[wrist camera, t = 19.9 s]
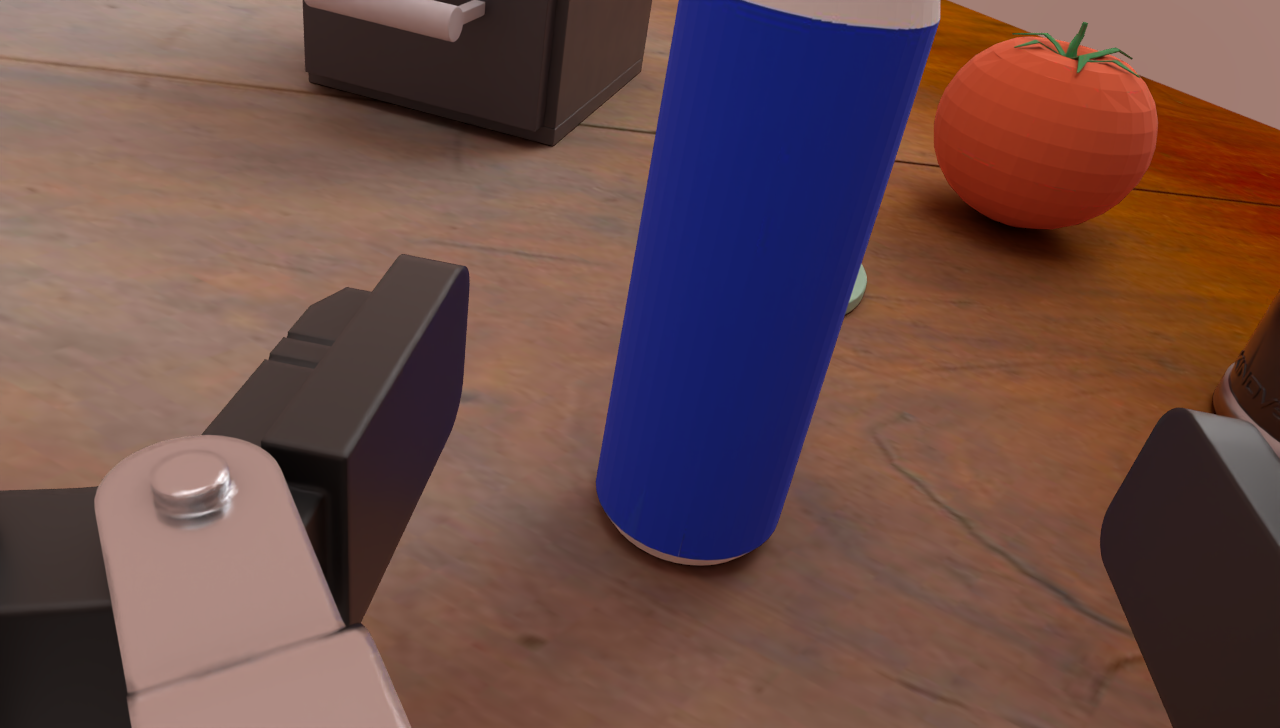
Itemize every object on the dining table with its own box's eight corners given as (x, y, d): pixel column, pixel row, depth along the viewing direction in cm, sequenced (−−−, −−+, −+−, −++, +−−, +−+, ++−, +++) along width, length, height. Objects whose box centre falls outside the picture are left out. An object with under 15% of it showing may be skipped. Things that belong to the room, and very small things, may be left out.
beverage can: (811, 537, 26) (1010, -26, 18) (668, 605, 23) (829, -29, 15) (696, 432, 30) (821, -87, 21) (557, 481, 27) (640, -99, 18)
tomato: (896, 226, 46) (966, 15, 40) (919, 163, 54) (980, -19, 49) (1113, 289, 44) (1218, 75, 38) (1102, 213, 52) (1188, 28, 47)
